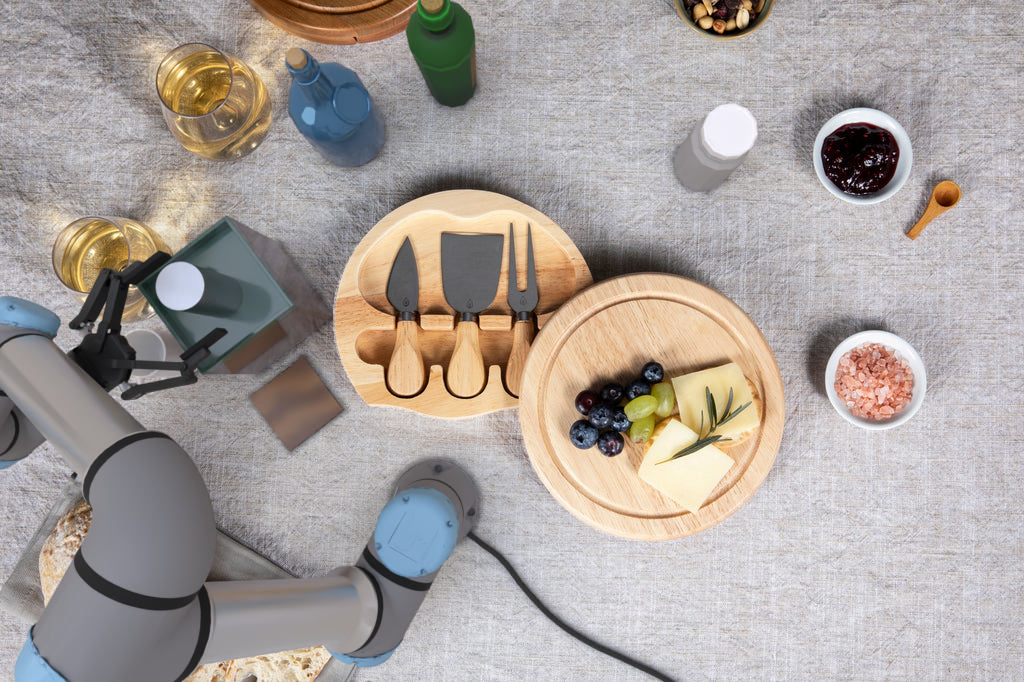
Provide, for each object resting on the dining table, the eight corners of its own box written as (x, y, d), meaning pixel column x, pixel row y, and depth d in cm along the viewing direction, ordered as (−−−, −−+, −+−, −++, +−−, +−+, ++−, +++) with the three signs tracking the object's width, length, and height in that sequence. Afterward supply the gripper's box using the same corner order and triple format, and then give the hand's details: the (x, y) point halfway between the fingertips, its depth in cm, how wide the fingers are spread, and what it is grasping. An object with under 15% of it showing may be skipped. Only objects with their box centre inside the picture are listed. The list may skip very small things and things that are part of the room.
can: (250, 300, 101) (214, 290, 89) (216, 326, 101) (174, 320, 89) (225, 265, 101) (185, 251, 89) (190, 292, 101) (145, 281, 89)
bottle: (493, 75, 121) (484, -14, 93) (462, 124, 120) (443, 50, 92) (444, 45, 121) (420, -53, 93) (412, 94, 121) (379, 10, 93)
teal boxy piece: (333, 316, 119) (293, 304, 98) (257, 374, 119) (201, 374, 98) (277, 242, 120) (226, 214, 99) (202, 299, 120) (134, 284, 99)
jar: (722, 196, 119) (758, 165, 101) (668, 188, 119) (694, 155, 101) (730, 143, 119) (767, 103, 101) (676, 135, 119) (703, 93, 101)
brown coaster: (344, 410, 118) (343, 410, 118) (290, 451, 118) (289, 451, 117) (304, 356, 119) (303, 356, 118) (250, 397, 119) (249, 397, 118)
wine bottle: (306, 160, 120) (235, 90, 90) (325, 91, 121) (260, -2, 91) (379, 178, 120) (332, 113, 90) (397, 108, 121) (356, 20, 91)
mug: (188, 402, 119) (150, 405, 107) (143, 387, 119) (101, 389, 107) (209, 339, 119) (174, 335, 107) (164, 325, 119) (124, 319, 107)
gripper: (41, 316, 98) (156, 228, 98) (140, 452, 96) (257, 362, 97) (1, 312, 90) (126, 216, 90) (108, 458, 89) (234, 361, 89)
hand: (194, 291), depth 93 cm, fingers open, 13 cm apart
